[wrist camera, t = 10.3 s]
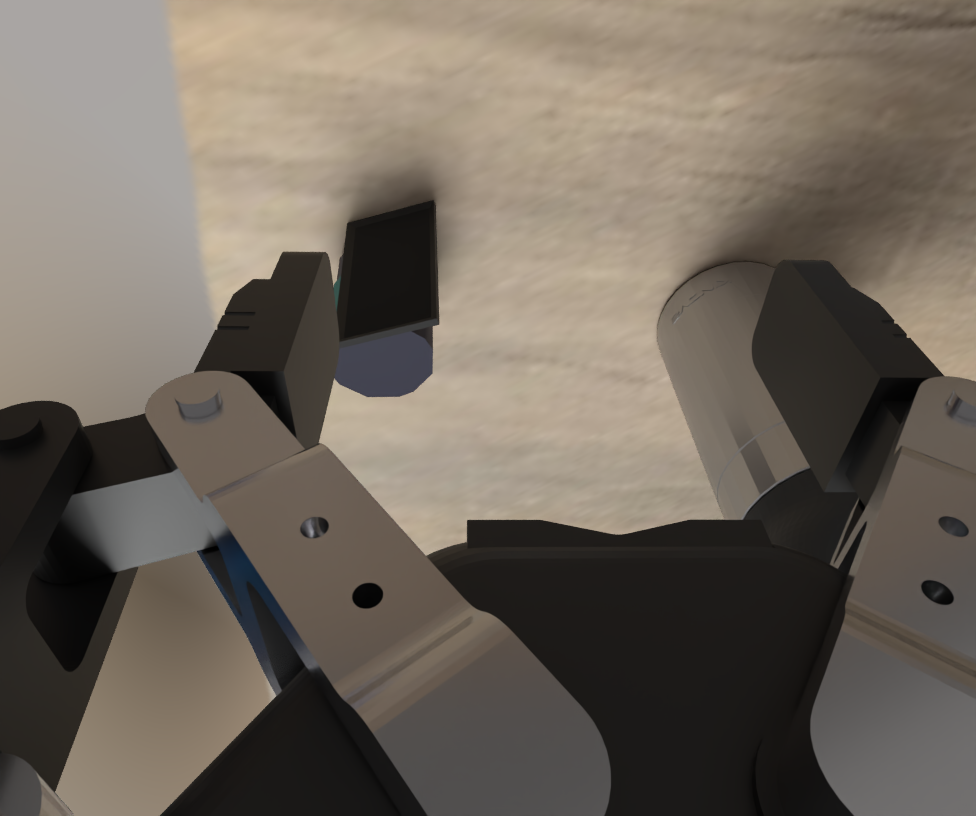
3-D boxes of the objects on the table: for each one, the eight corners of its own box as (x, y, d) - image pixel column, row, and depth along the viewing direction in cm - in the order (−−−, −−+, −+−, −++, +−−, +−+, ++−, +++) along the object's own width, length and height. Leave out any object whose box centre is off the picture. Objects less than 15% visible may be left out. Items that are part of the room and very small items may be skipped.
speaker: (333, 193, 39) (314, 306, 32) (436, 199, 39) (440, 311, 32) (340, 302, 44) (325, 419, 37) (430, 305, 45) (432, 422, 38)
